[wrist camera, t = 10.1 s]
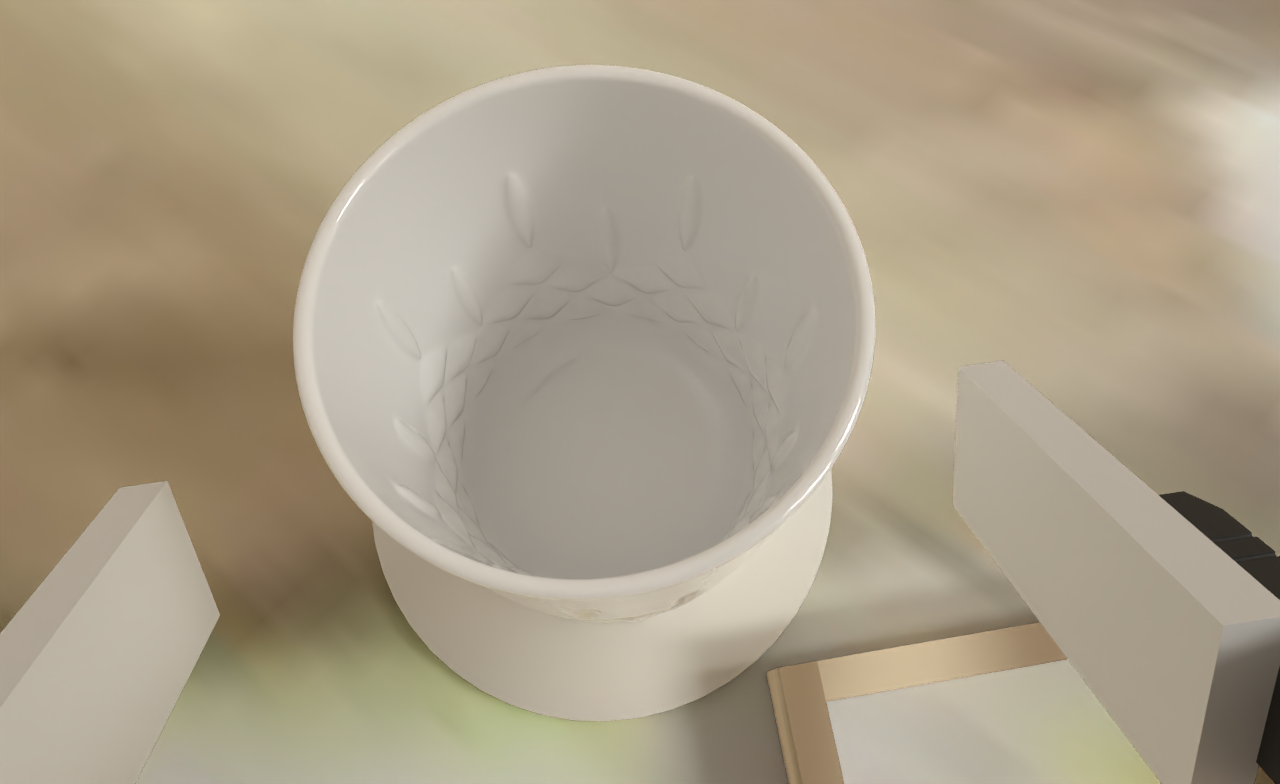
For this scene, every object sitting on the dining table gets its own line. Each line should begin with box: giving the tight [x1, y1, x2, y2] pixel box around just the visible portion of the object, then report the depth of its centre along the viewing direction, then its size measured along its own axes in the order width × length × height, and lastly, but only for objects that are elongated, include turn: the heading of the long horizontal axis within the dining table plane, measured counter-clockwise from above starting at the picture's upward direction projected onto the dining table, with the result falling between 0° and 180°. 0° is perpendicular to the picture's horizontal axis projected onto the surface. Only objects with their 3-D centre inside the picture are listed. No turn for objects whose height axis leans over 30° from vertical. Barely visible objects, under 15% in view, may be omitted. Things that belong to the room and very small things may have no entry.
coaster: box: [372, 468, 833, 722], centre depth 22 cm, size 11×11×1 cm
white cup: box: [293, 65, 875, 623], centre depth 17 cm, size 8×8×10 cm
